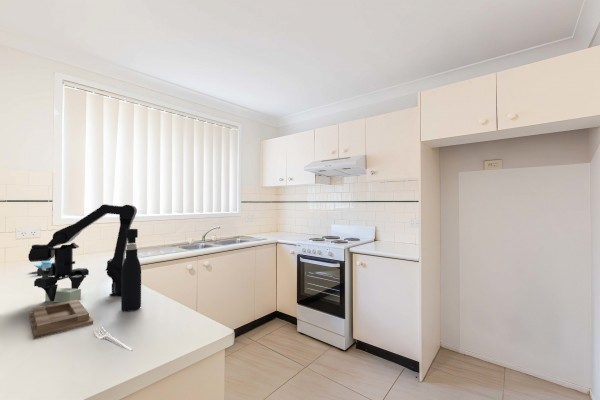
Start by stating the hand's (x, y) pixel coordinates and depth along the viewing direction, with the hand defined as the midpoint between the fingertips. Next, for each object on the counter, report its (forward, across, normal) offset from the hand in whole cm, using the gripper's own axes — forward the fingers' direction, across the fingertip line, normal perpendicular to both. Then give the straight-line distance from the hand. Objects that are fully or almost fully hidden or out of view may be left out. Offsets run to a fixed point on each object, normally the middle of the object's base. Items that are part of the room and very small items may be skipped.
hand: (63, 297), depth 114 cm
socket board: (+1, +18, +18) cm, 25 cm away
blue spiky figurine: (+1, -43, -57) cm, 71 cm away
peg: (+1, 0, 0) cm, 1 cm away
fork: (+2, +30, +48) cm, 57 cm away
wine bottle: (+1, +6, +35) cm, 36 cm away
